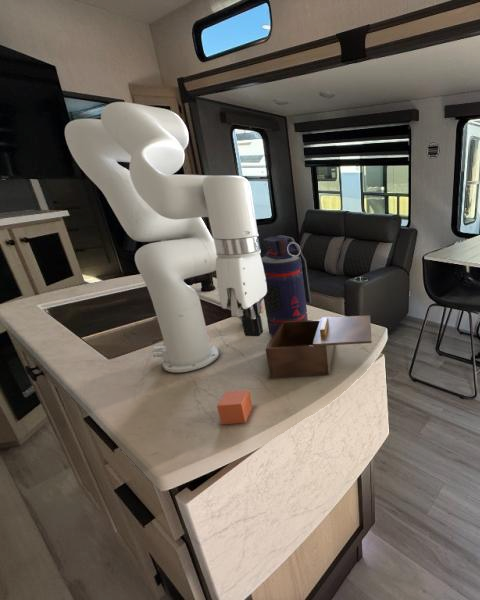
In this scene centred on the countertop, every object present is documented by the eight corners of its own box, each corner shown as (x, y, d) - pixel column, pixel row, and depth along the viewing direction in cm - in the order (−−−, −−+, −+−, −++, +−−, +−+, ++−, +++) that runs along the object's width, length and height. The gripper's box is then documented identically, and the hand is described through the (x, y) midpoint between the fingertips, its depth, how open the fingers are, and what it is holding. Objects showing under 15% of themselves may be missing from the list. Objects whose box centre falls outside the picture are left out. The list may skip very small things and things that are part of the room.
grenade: (282, 345, 93) (267, 242, 82) (262, 333, 100) (246, 237, 89) (321, 329, 102) (312, 236, 92) (300, 319, 110) (290, 232, 99)
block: (221, 424, 62) (216, 405, 61) (230, 409, 66) (226, 391, 65) (245, 422, 63) (241, 404, 61) (252, 407, 67) (249, 389, 65)
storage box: (270, 378, 77) (265, 349, 74) (285, 346, 92) (281, 321, 89) (328, 374, 78) (326, 345, 76) (334, 344, 93) (332, 319, 91)
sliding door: (312, 346, 75) (311, 337, 74) (320, 319, 90) (320, 311, 89) (371, 343, 77) (371, 334, 76) (370, 317, 92) (369, 309, 91)
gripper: (239, 239, 67) (253, 320, 73) (192, 254, 52) (215, 352, 59) (274, 239, 66) (285, 320, 72) (236, 254, 52) (254, 352, 58)
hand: (254, 334), depth 66 cm, fingers closed
